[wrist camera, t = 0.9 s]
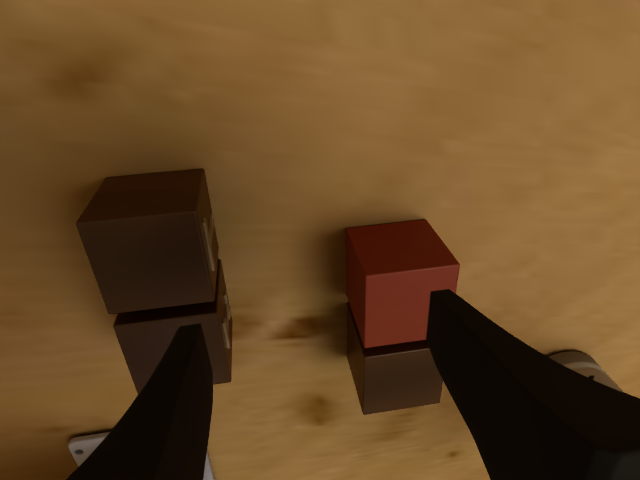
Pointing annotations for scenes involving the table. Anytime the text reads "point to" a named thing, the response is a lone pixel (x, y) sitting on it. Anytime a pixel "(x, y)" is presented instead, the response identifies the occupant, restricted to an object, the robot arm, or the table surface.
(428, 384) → the I block back
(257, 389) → the table surface
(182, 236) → the T block
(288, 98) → the table surface
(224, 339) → the dark brown cube block
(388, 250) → the block
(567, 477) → the robot arm
